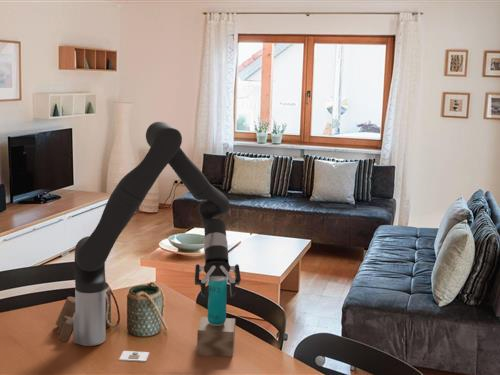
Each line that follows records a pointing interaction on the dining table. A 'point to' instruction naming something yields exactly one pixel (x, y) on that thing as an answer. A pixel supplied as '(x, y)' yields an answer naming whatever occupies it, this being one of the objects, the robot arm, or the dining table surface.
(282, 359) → the dining table surface
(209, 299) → the beverage can
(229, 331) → the walnut base brick
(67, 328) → the wooden block set
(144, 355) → the tower plan card
